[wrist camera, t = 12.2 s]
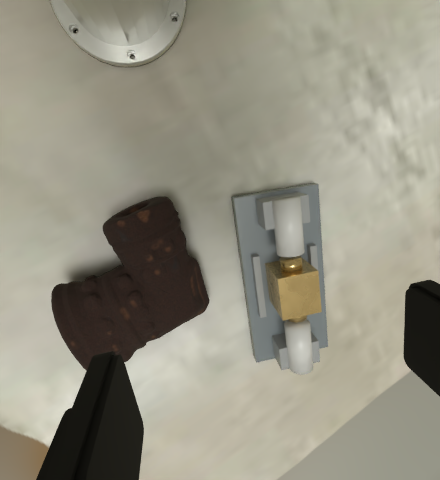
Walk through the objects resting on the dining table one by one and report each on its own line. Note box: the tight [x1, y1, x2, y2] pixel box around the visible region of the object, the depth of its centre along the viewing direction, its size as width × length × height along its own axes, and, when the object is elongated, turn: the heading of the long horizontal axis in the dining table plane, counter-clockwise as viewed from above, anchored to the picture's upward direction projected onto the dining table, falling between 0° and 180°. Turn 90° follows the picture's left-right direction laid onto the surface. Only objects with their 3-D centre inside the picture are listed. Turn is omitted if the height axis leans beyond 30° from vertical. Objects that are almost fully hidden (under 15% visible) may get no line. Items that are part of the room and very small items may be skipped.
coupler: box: [265, 256, 322, 323], centre depth 35 cm, size 7×4×5 cm, turn 9°
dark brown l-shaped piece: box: [51, 197, 209, 370], centre depth 33 cm, size 10×15×15 cm
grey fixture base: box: [232, 183, 328, 374], centre depth 36 cm, size 22×10×6 cm, turn 8°
